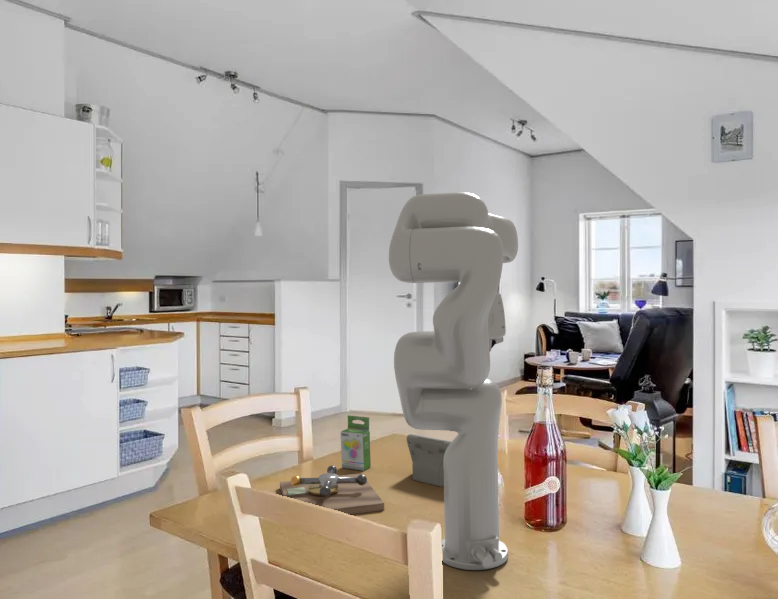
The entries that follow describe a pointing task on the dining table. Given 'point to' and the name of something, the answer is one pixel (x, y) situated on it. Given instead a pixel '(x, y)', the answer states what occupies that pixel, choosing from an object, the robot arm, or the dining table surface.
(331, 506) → the stand
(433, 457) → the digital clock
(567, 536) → the dining table surface
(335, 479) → the capstan
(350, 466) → the ink box
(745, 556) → the dining table surface
